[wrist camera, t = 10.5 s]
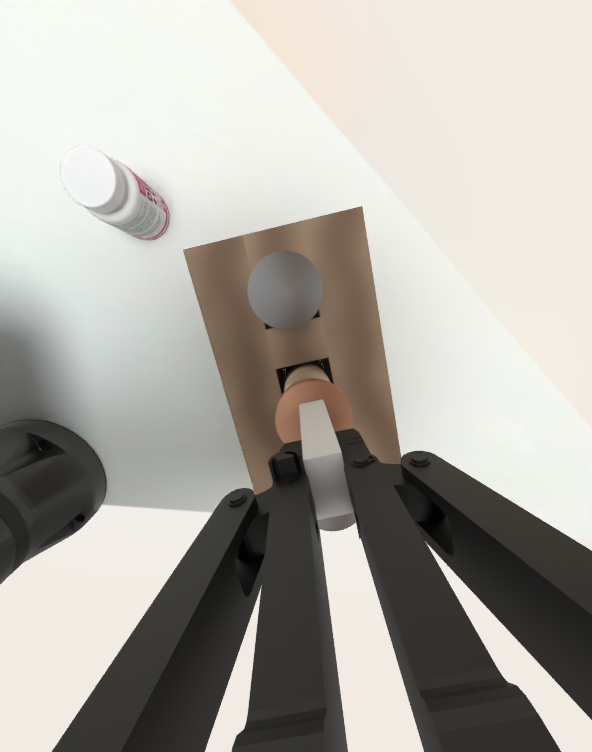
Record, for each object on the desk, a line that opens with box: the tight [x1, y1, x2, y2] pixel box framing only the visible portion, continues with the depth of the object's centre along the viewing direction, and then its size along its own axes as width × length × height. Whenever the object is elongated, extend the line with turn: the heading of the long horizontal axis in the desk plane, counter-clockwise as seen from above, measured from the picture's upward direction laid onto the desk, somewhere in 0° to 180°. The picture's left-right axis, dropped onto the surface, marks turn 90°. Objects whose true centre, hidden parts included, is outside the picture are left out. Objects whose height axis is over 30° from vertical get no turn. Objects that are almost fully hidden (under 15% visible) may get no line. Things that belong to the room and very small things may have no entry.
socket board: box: [183, 206, 401, 495], centre depth 28 cm, size 14×26×8 cm, turn 13°
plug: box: [247, 251, 323, 329], centre depth 24 cm, size 5×5×12 cm
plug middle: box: [275, 360, 353, 443], centre depth 23 cm, size 5×5×12 cm
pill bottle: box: [60, 145, 169, 240], centre depth 24 cm, size 5×5×8 cm
